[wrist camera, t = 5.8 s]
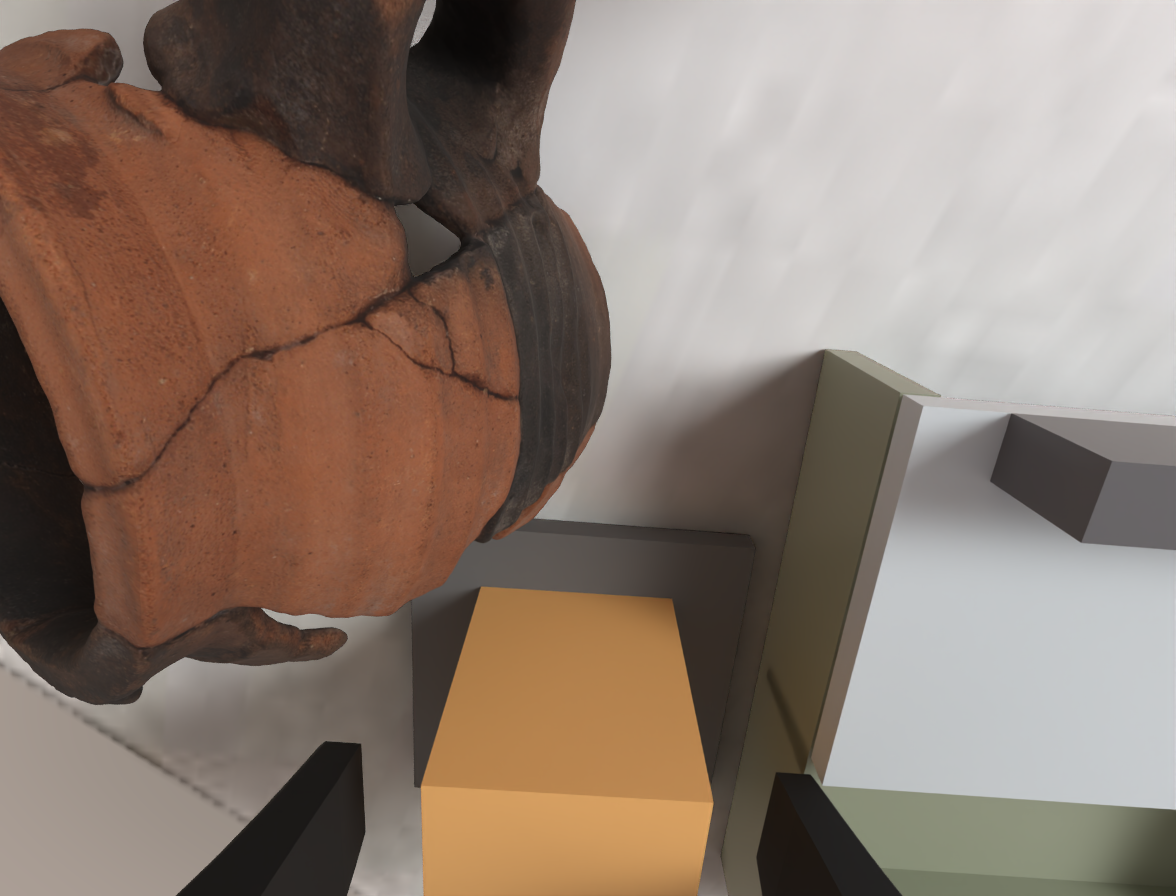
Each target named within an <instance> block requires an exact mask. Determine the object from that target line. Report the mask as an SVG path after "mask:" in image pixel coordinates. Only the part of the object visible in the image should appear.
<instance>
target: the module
mask: <svg viewBox="0 0 1176 896" xmlns="http://www.w3.org/2000/svg"><path fill="white" fill-rule="evenodd" d="M713 804H714V802H713V797H712V792H711V787H710V782H709V778H708V773H707V768H706V763H705V758H704V753H703V748H702V743H701V738H700V733H699V729H698V724H697V719H696V714H695V709H694V704H693V699H692V694H691V689H690V684H689V680H688V675H687V670H686V665H685V660H684V655H683V650H682V645H681V640H680V635H679V630H678V626H677V621H676V616H675V611H674V606H673V601H672V599H669V598H653V597H638V596H622V595H606V594H591V593H575V592H559V591H544V590H528V589H512V588H497V587H481V588H480V592H479V595H478V598H477V602H476V605H475V608H474V612H473V615H472V618H471V622H470V625H469V628H468V632H467V635H466V638H465V641H464V645H463V648H462V651H461V655H460V658H459V661H458V665H457V668H456V671H455V675H454V678H453V681H452V684H451V688H450V691H449V694H448V698H447V701H446V704H445V708H444V711H443V714H442V718H441V721H440V724H439V728H438V731H437V734H436V737H435V741H434V744H433V747H432V751H431V754H430V757H429V761H428V764H427V767H426V771H425V774H424V777H423V780H422V784H421V808H422V848H423V887H424V896H697V893H698V888H699V882H700V877H701V871H702V865H703V860H704V854H705V849H706V843H707V837H708V832H709V826H710V821H711V815H712V809H713Z"/></svg>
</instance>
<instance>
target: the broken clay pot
mask: <svg viewBox="0 0 1176 896" xmlns="http://www.w3.org/2000/svg"><path fill="white" fill-rule="evenodd" d="M425 1H426V0H179V1H177V2H175V3H173V4H171V5H169V6H167V7H166V8H164V9H162V10H159V11H157V12H156V13H155V14H153V16H152V17H151V18H150V20H149V22H148V24H147V26H146V29H145V33H144V40H143V44H144V52H145V57H146V61H147V65H148V67H149V70H150V72H151V74H152V75H153V77H154V78H155V79H156V80H157V81H158V83H159V84H160V85H161V86H162V90H161V91H151V90H146V89H141V88H137V87H135V86H132V85H129V84H126V83H114V82H115V81H116V79H117V78H118V76H119V75H120V72H121V70H122V67H123V58H122V55H121V51H120V49H119V46H118V45H117V43H116V41H115V39H114V38H113V37H112V36H111V35H110V34H109V33H106V32H101V31H99V30H94V29H76V30H57V31H48V32H46V33H43V34H41V35H38V36H34V37H27V38H24V39H21V40H19V41H16V42H14V43H12V44H10V45H8V46H6V47H4V48H3V49H2V50H0V634H1V635H2V637H3V638H4V639H5V640H6V641H7V643H8V644H9V646H11V647H12V648H13V649H14V650H15V651H16V652H17V653H18V654H19V656H20V657H21V658H22V659H23V660H24V661H25V662H27V663H28V664H29V665H30V667H31V668H32V670H33V671H34V672H36V673H37V674H38V675H39V676H40V677H42V678H43V679H44V680H46V681H47V682H48V683H49V684H50V685H51V686H54V687H55V689H56V690H58V691H60V692H61V693H63V694H65V695H67V696H69V697H71V698H72V697H75V698H77V699H79V700H81V701H84V702H87V703H90V704H94V705H103V704H115V705H118V704H130V703H133V702H135V701H137V700H138V699H139V697H140V695H141V693H142V690H143V685H144V684H145V683H146V682H147V681H148V680H149V679H150V678H151V677H152V676H154V675H155V674H157V673H158V672H160V671H161V670H163V669H164V668H166V667H168V666H169V665H171V664H173V663H175V662H176V661H178V660H180V659H182V658H184V657H187V658H192V659H195V660H199V661H204V662H212V663H233V664H239V665H249V666H261V665H271V664H277V663H283V662H288V661H290V662H298V661H309V660H319V659H321V658H324V657H327V656H329V655H331V654H332V653H334V652H335V651H336V650H338V649H339V648H340V647H342V646H343V645H344V644H345V643H346V641H347V639H348V638H347V634H346V633H345V632H343V631H342V630H340V629H337V628H333V627H328V628H317V629H304V630H300V629H299V628H297V627H295V626H292V625H287V624H283V623H280V622H277V621H276V620H274V619H273V618H271V617H269V616H268V615H267V614H266V613H265V612H264V611H263V610H262V609H261V608H265V609H269V610H272V611H275V612H278V613H286V614H289V615H294V616H297V615H305V614H319V615H323V616H325V617H330V618H349V617H355V616H360V615H364V616H389V615H391V614H393V613H395V612H396V611H397V610H398V609H399V608H400V607H402V606H403V605H404V604H405V603H407V602H408V601H410V600H413V599H415V598H417V597H420V596H422V595H424V594H426V593H427V592H429V591H431V590H434V589H436V588H438V587H440V586H442V585H443V584H444V583H445V582H446V581H447V579H448V577H449V575H450V574H451V573H452V571H453V570H454V568H455V566H456V564H457V563H458V561H459V559H460V557H461V555H462V554H463V552H464V551H465V549H466V548H467V547H468V546H469V544H470V543H472V542H473V541H476V542H479V543H486V542H488V541H490V540H491V539H492V538H493V539H495V540H499V539H502V538H504V537H506V536H508V535H509V534H511V533H512V532H514V531H515V530H517V529H519V528H520V527H522V526H523V525H525V524H526V523H528V522H529V521H531V520H532V519H533V518H534V517H535V516H536V515H537V514H538V513H539V511H540V510H541V509H542V508H543V507H544V505H545V504H546V503H547V501H548V500H549V499H550V497H551V496H552V495H553V494H554V493H555V492H556V490H557V489H558V488H559V486H560V484H561V482H562V480H563V478H564V475H565V474H566V472H567V471H568V470H569V469H570V468H571V467H572V466H573V464H574V463H575V461H576V460H577V459H578V457H579V456H580V454H581V453H582V451H583V450H584V448H585V447H586V445H587V443H588V441H589V439H590V437H591V435H592V433H593V431H594V429H595V425H596V422H597V420H598V419H599V417H600V415H601V412H602V409H603V405H604V402H605V398H606V393H607V386H608V380H609V374H610V369H611V344H610V321H609V312H608V308H607V302H606V296H605V291H604V288H603V285H602V282H601V278H600V276H599V274H598V272H597V270H596V268H595V266H594V264H593V262H592V259H591V256H590V254H589V252H588V249H587V247H586V245H585V243H584V241H583V239H582V237H581V235H580V233H579V231H578V230H577V228H576V226H575V225H574V223H573V221H572V220H571V218H570V216H569V215H568V214H567V213H566V212H565V211H564V210H562V209H560V208H558V207H557V206H556V205H555V204H554V202H553V201H552V199H551V198H550V197H549V196H548V195H546V194H545V193H544V191H543V190H542V188H541V187H540V186H538V185H537V184H536V183H537V181H538V179H539V176H540V155H539V148H540V134H541V128H542V124H543V119H544V111H545V108H546V104H547V99H548V94H549V90H550V87H551V84H552V82H553V80H554V77H555V75H556V73H557V71H558V68H559V66H560V63H561V59H562V55H563V51H564V48H565V45H566V41H567V38H568V34H569V30H570V26H571V22H572V18H573V13H574V8H575V2H576V0H436V8H435V11H434V15H433V19H432V21H431V23H430V25H429V27H428V28H427V30H426V32H425V33H424V35H423V37H422V38H421V40H420V41H419V42H418V43H417V44H416V45H414V46H412V47H411V48H410V46H411V42H412V39H413V35H414V32H415V28H416V25H417V22H418V19H419V17H420V15H421V12H422V10H423V6H424V3H425ZM412 203H414V204H415V205H416V206H417V207H418V208H419V209H421V210H422V211H423V212H425V213H426V214H428V215H429V216H431V217H432V218H434V219H435V220H436V221H438V222H439V223H441V224H442V225H443V226H445V227H446V228H447V229H449V230H450V231H451V232H453V233H454V234H455V235H456V236H457V237H458V238H459V239H460V241H461V245H460V249H459V250H458V252H456V253H455V254H453V255H452V256H451V257H450V258H449V259H448V260H446V261H445V262H443V263H441V264H439V265H437V266H435V267H433V268H432V269H431V270H430V271H429V272H426V273H424V274H422V275H421V276H418V277H413V276H412V274H411V271H410V267H409V264H408V247H407V241H406V235H405V230H404V228H403V226H402V224H401V222H400V221H399V219H398V217H397V215H396V213H395V209H394V206H397V205H408V204H412ZM79 479H80V480H81V481H80V480H79ZM83 484H84V485H83Z"/></svg>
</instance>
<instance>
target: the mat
mask: <svg viewBox="0 0 1176 896" xmlns="http://www.w3.org/2000/svg"><path fill="white" fill-rule="evenodd" d="M755 550H756V548H755V546H754V544H753V542H752V540H751V538H750V536H749V535H741V534H728V533H715V532H702V531H688V530H675V529H662V528H649V527H635V526H622V525H609V524H596V523H582V522H569V521H556V520H543V519H532V520H531V521H529V522H528V523H526V524H525V525H523V526H522V527H520V528H519V529H517V530H515V531H514V532H512V533H511V534H509V535H508V536H506V537H504V538H502V539H499V540H495V539H493V538H492V539H491V540H490V541H488V542H486V543H479V542H476V541H473V542H472V543H470V544H469V546H468V547H467V548H466V549H465V551H464V552H463V554H462V555H461V557H460V559H459V561H458V563H457V564H456V566H455V568H454V570H453V571H452V573H451V574H450V575H449V577H448V579H447V581H446V582H445V583H444V584H443V585H442V586H440V587H438V588H436V589H434V590H431V591H429V592H427V593H426V594H424V595H422V596H420V597H417V598H415V599H413V600H412V661H413V727H414V787H418V788H421V784H422V780H423V777H424V774H425V771H426V767H427V764H428V761H429V757H430V754H431V751H432V747H433V744H434V741H435V737H436V734H437V731H438V728H439V724H440V721H441V718H442V714H443V711H444V708H445V704H446V701H447V698H448V694H449V691H450V688H451V684H452V681H453V678H454V675H455V671H456V668H457V665H458V661H459V658H460V655H461V651H462V648H463V645H464V641H465V638H466V635H467V632H468V628H469V625H470V622H471V618H472V615H473V612H474V608H475V605H476V602H477V598H478V595H479V592H480V588H481V587H497V588H512V589H528V590H544V591H559V592H575V593H591V594H606V595H622V596H638V597H653V598H669V599H672V601H673V606H674V611H675V616H676V621H677V626H678V630H679V635H680V640H681V645H682V650H683V655H684V660H685V665H686V670H687V675H688V680H689V684H690V689H691V694H692V699H693V704H694V709H695V714H696V719H697V724H698V729H699V733H700V738H701V743H702V748H703V753H704V758H705V763H706V768H707V773H708V778H709V782H710V787H711V782H712V777H713V772H714V766H715V761H716V756H717V751H718V745H719V740H720V735H721V729H722V724H723V719H724V714H725V708H726V703H727V698H728V692H729V687H730V682H731V677H732V671H733V666H734V661H735V656H736V650H737V645H738V640H739V634H740V629H741V624H742V619H743V613H744V608H745V603H746V597H747V592H748V587H749V582H750V576H751V571H752V566H753V561H754V555H755Z"/></svg>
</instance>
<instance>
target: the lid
mask: <svg viewBox="0 0 1176 896" xmlns="http://www.w3.org/2000/svg"><path fill="white" fill-rule="evenodd" d="M811 759H812V761H813V764H814V766H815V769H816V771H817V774H818V776H819V779H820V781H821V784H822V786H835V787H850V788H864V789H879V790H894V791H908V792H923V793H938V794H952V795H967V796H982V797H997V798H1011V799H1026V800H1041V801H1055V802H1070V803H1085V804H1099V805H1114V806H1129V807H1143V808H1158V809H1173V810H1176V416H1167V415H1155V414H1142V413H1130V412H1118V411H1105V410H1093V409H1080V408H1068V407H1055V406H1043V405H1030V404H1018V403H1005V402H993V401H980V400H968V399H955V398H943V397H930V396H918V395H905V394H903V397H902V401H901V405H900V409H899V413H898V417H897V421H896V425H895V429H894V433H893V437H892V441H891V445H890V449H889V453H888V457H887V460H886V464H885V468H884V472H883V476H882V480H881V484H880V488H879V492H878V496H877V500H876V504H875V508H874V512H873V516H872V520H871V524H870V527H869V531H868V535H867V539H866V543H865V547H864V551H863V555H862V559H861V563H860V567H859V571H858V575H857V579H856V583H855V587H854V591H853V594H852V598H851V602H850V606H849V610H848V614H847V618H846V622H845V626H844V630H843V634H842V638H841V642H840V646H839V650H838V654H837V657H836V661H835V665H834V669H833V673H832V677H831V681H830V685H829V689H828V693H827V697H826V701H825V705H824V709H823V713H822V717H821V721H820V724H819V728H818V732H817V736H816V740H815V744H814V748H813V752H812V756H811Z"/></svg>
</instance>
